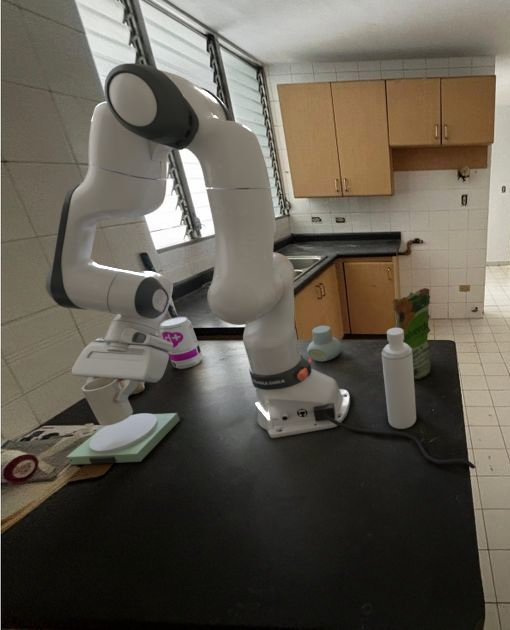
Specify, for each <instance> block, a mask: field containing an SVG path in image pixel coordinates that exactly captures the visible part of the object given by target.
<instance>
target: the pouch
mask: <svg viewBox="0 0 510 630" xmlns="http://www.w3.org/2000/svg"><path fill="white" fill-rule="evenodd" d="M430 299H431V295H430V289H429V288H426V287H423V288H420V289H419V290H416V291H415V292H412V291H411V292H410V293H409V295H408V296H404V297H402V298H395V299H394V300H392V301H391V303H392V305H393V311H394V312H395V319H396V323H395V326H394V328H401V329H403V331H404V340H403V343H406V344H407V345H409V346H410V347H411V348H412V349H411V350H412V357H413V372H414V380H421V379H423V378H424V377H426V376H428V375H429V374H430V373H431V366H432V365H431V364H432V363H431V360H430V354H431V353H430V352H431V351H430V350H431V346H430V345H429V341H428V339H429V338H428V337H429V335H428V334H429V333H430V332H431V328H430V326H429V320H430V318H431V315H430V313H429V312H430V311H429V309H430V308H429V305H430V304H431V301H430ZM410 347H409V348H410Z"/></svg>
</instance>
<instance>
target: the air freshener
mask: <svg viewBox="0 0 510 630" xmlns="http://www.w3.org/2000/svg"><path fill="white" fill-rule="evenodd" d="M311 335H312V341H311V342H310V343H309V344H308V346H307V348H306V353H307V356H308V357H309V358H310V357H311V360H314V361H317V362H327V361H330V360H334V359H335V358H337V357H338V356H339V355H340V354H341V352H342V350H343V345H342V342H341V341H340V340H339V339H338V338H336V337H334V336H333V333H332V327H331V326H329V325H318V326H316V327H314V328H313V329H312V330H311Z"/></svg>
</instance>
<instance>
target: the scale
mask: <svg viewBox="0 0 510 630" xmlns="http://www.w3.org/2000/svg"><path fill="white" fill-rule="evenodd" d="M180 420H181V419H180V417H179V414H178V412H174V413H173V412H170V413H148V412H143V413H136V414H131V415H130V416H129V417H128V418H127V419H125V420H123V421H121V422H119V423H116V424H113V425H108V426H102V427H101V428H100V429H98V430H97V431H96V432H94V433H93V434H92V435H91V436H90V437H89V438H87V439H86V440H85V441H84V442H83V443H81V444H80V445H79V446H77V447H76V448H75V449H74V450H72V451H71V452H70V453H69V454H68V455H67V456H65V458H66V460H67V461H68V460H72V461H68V463H69V465H71V466H72V465H93V464H95V465H97V464H115V463H138V462H139V463H140V462H142V461H143V459H145V457H147V456H148V455H149V454H150V453H151V451H152V450H153V449H155V447H156V446H157V445H158V444H159V443H160V442H161V441H162V440H163V439H164V437H165V436H166V435H167V434H168V433H169V432H170V431H171V430H172V429H173V428H174V427H175V426H176V425H177V424H178V423H179V422H180Z"/></svg>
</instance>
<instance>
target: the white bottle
mask: <svg viewBox="0 0 510 630" xmlns="http://www.w3.org/2000/svg"><path fill="white" fill-rule="evenodd" d="M386 338H387V341H388V344H387V343H386V345H385V346H383V348H382V349H381V352H380V353H381V362H382V372H383V380H384V381H383V382H384V392H385V401H386V413H387V421H388V423H389V425H390V426H391V427H392V428H394V429H397V430H405V429H409V428H410V427H412V426H413V425H414V424H415V423H416V421H417V406H416V389H415V377H414V372H413V357H412V350H411V349H412V348H411V347H410V346H409V345H407V344H406V343H403V340H404V331H403V329H401V328H395V327H391V328H389V329H387V330H386ZM409 347H410V348H409Z"/></svg>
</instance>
